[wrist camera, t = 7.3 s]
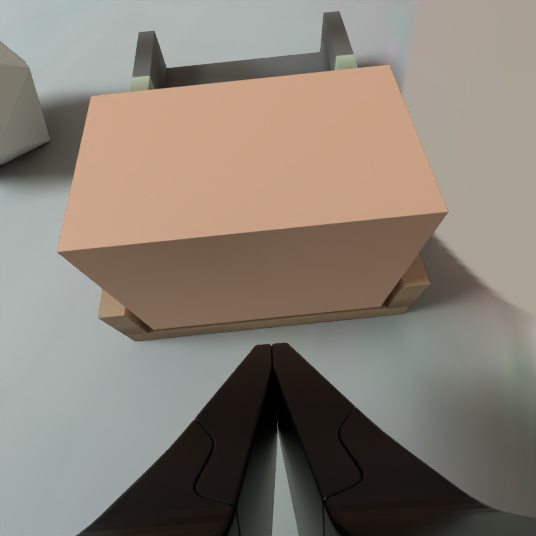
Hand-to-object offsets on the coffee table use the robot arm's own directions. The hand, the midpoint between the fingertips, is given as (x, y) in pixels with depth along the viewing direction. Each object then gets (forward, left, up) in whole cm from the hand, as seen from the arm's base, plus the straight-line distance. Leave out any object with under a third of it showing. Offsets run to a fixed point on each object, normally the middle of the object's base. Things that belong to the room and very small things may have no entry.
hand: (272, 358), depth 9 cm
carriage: (+2, +6, -5) cm, 8 cm away
